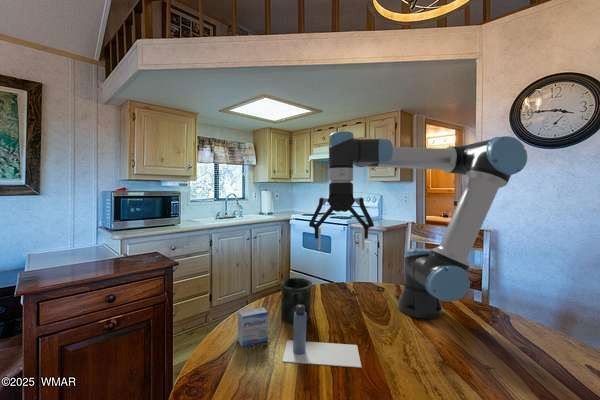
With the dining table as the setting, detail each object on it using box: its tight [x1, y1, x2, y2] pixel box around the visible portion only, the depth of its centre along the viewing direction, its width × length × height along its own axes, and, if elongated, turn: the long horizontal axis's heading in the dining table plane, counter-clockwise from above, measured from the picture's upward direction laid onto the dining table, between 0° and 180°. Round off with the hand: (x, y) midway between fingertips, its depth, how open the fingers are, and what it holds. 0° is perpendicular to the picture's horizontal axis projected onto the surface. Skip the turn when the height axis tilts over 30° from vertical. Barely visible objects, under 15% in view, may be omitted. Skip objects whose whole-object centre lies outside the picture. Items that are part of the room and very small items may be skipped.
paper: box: [282, 339, 363, 369], centre depth 77 cm, size 20×10×1 cm, turn 85°
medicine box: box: [237, 306, 269, 348], centre depth 82 cm, size 8×4×9 cm, turn 117°
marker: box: [292, 304, 307, 355], centre depth 77 cm, size 3×3×12 cm
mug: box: [280, 277, 313, 324], centre depth 96 cm, size 11×15×12 cm
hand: (341, 249), depth 90 cm, fingers open, 13 cm apart
